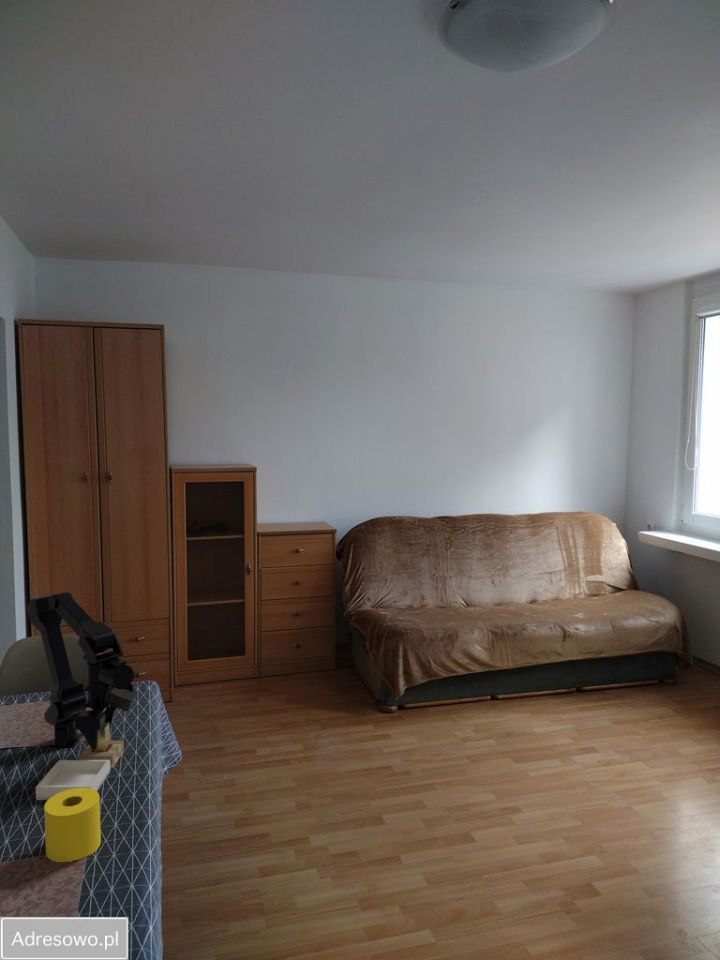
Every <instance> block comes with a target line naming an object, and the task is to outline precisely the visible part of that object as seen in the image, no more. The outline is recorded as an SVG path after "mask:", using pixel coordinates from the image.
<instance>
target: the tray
mask: <svg viewBox="0 0 720 960" xmlns="http://www.w3.org/2000/svg"><path fill="white" fill-rule="evenodd" d="M110 773H111V768H110V760H79V759H59V760H58V761H56V763H54V765H53V767H51V769H50V770H49V771H48V772H47V773H46V775H45V776H44V777H43V778H42V779H41V780H40V781H39V782H38V784H37V785H36V786H35V800H36V801H48V800H49V799H50V798H51V797H52V796H54V795H56V794H58V793H60V792H63V791H65V790H69V789H74V788H90V789H93V790H95V791H97V792H98V790H99V789H100V788H101V786H102V785H103V783H104V782H105V780H106V779H107V778H108V776H109V775H110Z"/></svg>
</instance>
